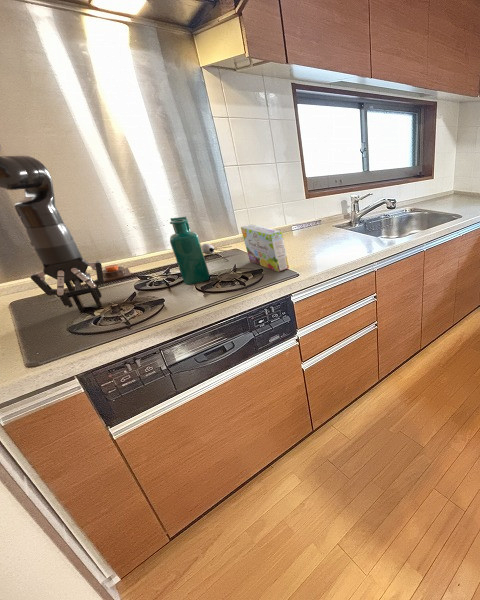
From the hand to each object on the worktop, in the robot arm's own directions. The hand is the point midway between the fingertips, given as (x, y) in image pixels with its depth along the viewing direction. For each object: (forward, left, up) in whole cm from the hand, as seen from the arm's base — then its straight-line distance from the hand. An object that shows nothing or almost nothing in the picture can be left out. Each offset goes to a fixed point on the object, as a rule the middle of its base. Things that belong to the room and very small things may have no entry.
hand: (84, 302), depth 89 cm
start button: (+8, +38, -3) cm, 39 cm away
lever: (0, +5, +3) cm, 6 cm away
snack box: (+55, +11, -7) cm, 57 cm away
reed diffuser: (+42, +38, -7) cm, 57 cm away
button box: (+8, +38, -7) cm, 39 cm away
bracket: (0, +10, -7) cm, 12 cm away
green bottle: (+30, +16, -7) cm, 35 cm away
